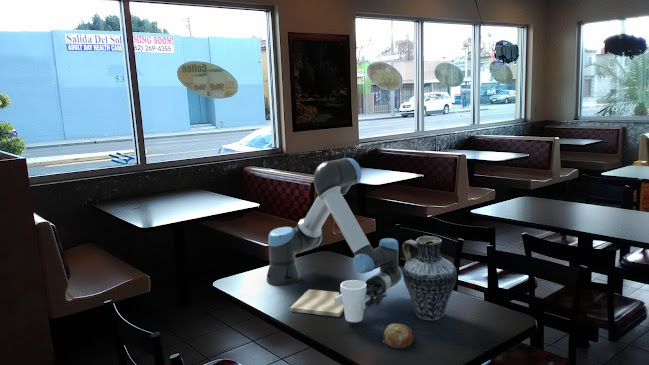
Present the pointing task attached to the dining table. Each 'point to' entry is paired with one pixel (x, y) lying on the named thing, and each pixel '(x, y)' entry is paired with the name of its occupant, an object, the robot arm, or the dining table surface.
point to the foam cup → (353, 299)
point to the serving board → (318, 303)
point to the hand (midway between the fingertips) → (347, 304)
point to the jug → (428, 277)
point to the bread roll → (398, 336)
